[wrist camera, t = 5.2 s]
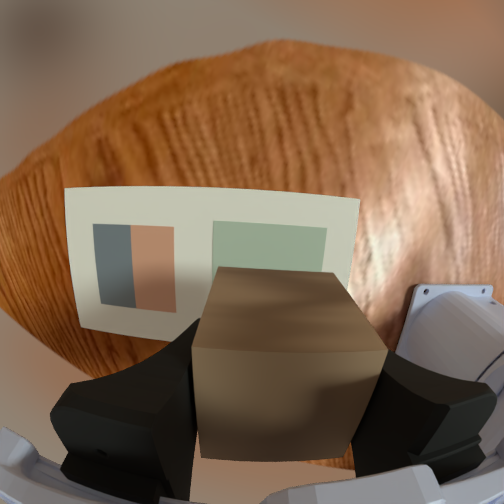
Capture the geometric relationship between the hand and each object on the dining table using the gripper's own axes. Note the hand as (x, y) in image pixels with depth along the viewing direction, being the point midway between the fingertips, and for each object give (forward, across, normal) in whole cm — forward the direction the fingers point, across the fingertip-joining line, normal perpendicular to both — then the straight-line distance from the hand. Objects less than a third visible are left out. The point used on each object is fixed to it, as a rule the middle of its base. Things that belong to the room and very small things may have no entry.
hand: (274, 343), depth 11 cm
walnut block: (+2, 0, 0) cm, 2 cm away
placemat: (+8, +4, 0) cm, 9 cm away
